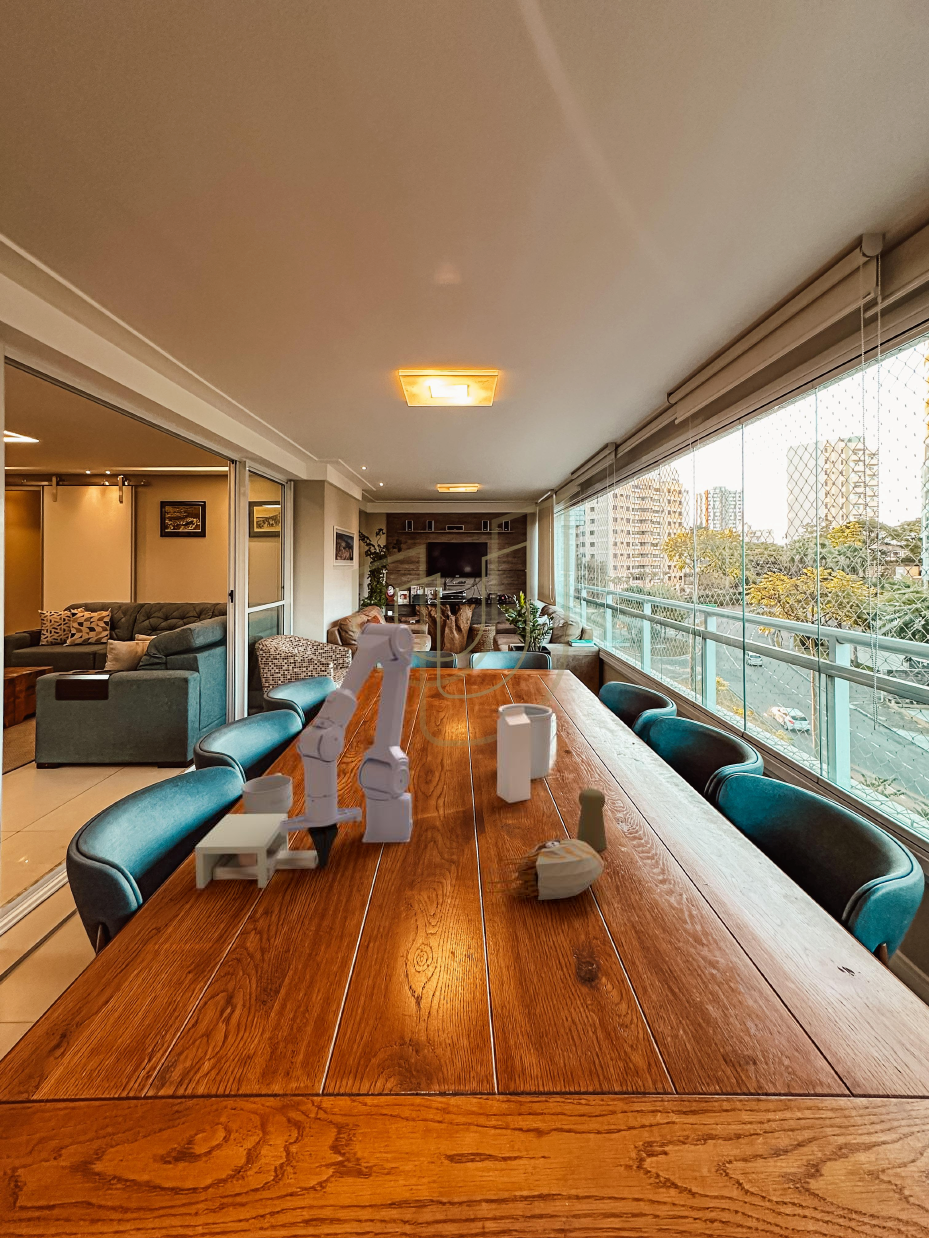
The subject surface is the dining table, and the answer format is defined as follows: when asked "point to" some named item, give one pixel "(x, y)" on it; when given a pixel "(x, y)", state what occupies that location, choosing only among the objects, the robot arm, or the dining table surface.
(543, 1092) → the dining table surface
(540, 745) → the utensil holder
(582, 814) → the pepper mill
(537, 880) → the nautilus
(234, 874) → the drawer with block handle
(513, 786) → the milk
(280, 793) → the teacup
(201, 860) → the grey bridge stand
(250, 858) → the tan rounded block
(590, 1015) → the dining table surface
